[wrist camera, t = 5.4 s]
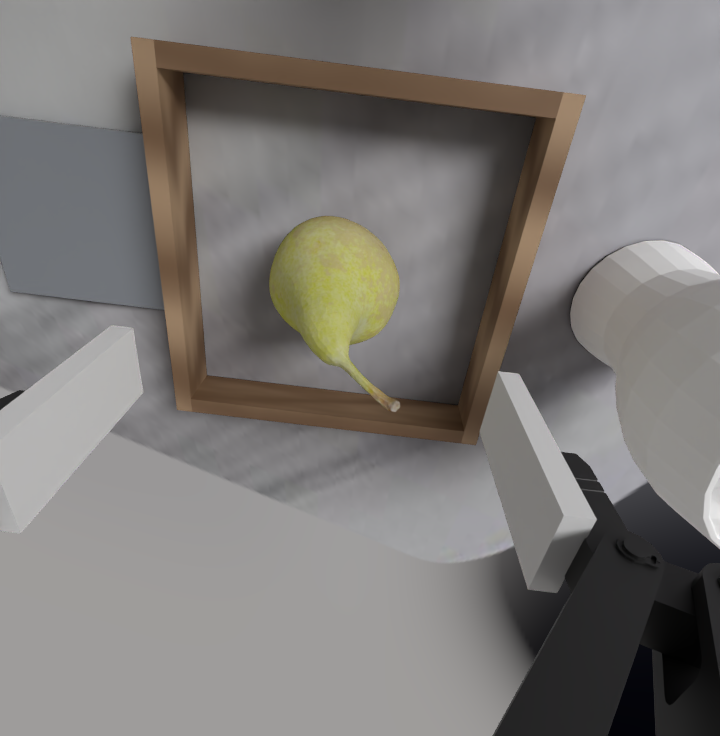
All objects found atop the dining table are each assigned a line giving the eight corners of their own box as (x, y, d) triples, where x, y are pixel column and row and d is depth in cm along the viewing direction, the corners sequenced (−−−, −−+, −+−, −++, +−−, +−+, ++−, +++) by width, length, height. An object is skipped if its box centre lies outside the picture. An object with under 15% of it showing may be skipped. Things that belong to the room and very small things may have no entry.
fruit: (318, 182, 25) (268, 233, 14) (427, 255, 26) (454, 349, 16) (265, 279, 28) (193, 380, 17) (366, 339, 29) (356, 464, 19)
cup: (544, 386, 30) (662, 591, 17) (547, 232, 25) (718, 360, 12) (711, 365, 29) (975, 571, 16) (751, 197, 24) (1188, 300, 11)
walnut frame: (160, 45, 22) (130, 36, 19) (562, 97, 22) (586, 95, 19) (194, 385, 32) (177, 409, 29) (468, 418, 32) (475, 445, 29)
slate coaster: (-36, 110, 24) (-46, 110, 23) (151, 134, 24) (146, 135, 23) (17, 288, 29) (10, 291, 28) (171, 306, 29) (167, 310, 28)
